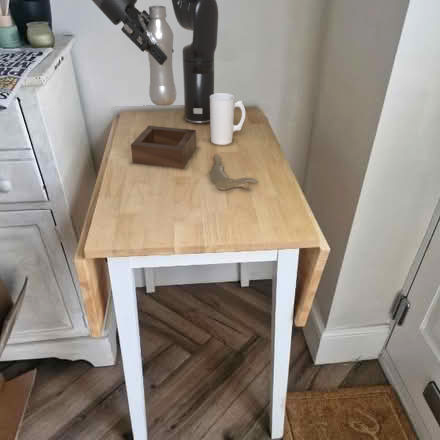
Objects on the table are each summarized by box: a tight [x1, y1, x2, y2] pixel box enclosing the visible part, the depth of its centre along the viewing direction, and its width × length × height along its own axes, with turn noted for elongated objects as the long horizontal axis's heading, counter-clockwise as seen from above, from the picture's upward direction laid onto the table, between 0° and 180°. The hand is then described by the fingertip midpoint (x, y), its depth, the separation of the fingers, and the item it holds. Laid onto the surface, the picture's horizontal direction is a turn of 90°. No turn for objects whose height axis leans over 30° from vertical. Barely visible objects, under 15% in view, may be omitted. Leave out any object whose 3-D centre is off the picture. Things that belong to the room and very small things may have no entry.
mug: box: [209, 92, 246, 146], centre depth 119 cm, size 10×7×12 cm, turn 99°
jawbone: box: [210, 153, 260, 191], centre depth 106 cm, size 9×20×2 cm, turn 30°
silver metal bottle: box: [147, 5, 177, 107], centre depth 98 cm, size 6×7×20 cm
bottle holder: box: [130, 125, 197, 170], centre depth 113 cm, size 14×14×5 cm
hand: (167, 57), depth 98 cm, fingers closed on silver metal bottle, 6 cm apart
